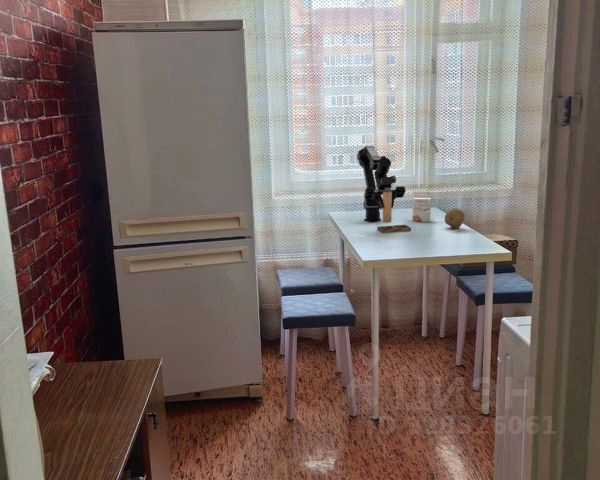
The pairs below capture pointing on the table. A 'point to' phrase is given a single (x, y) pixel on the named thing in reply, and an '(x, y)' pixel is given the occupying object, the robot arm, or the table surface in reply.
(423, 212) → the ink cartridge box
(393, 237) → the table surface
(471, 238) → the table surface
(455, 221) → the natural sponge
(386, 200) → the tan rounded column
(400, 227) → the brown divided tray
